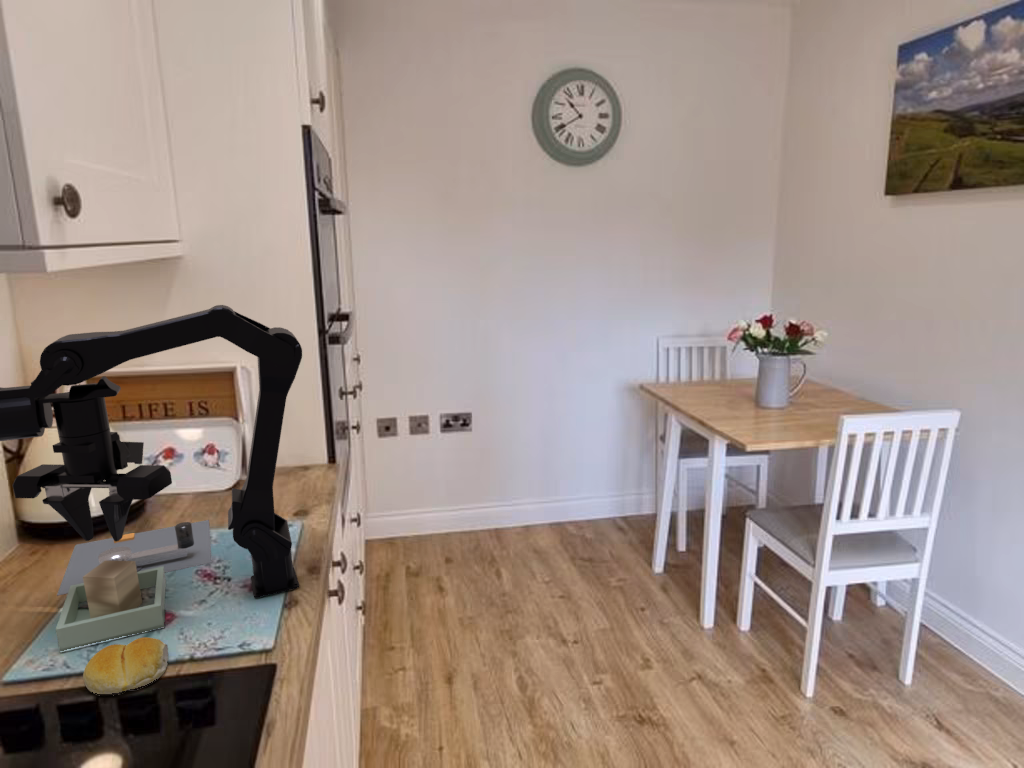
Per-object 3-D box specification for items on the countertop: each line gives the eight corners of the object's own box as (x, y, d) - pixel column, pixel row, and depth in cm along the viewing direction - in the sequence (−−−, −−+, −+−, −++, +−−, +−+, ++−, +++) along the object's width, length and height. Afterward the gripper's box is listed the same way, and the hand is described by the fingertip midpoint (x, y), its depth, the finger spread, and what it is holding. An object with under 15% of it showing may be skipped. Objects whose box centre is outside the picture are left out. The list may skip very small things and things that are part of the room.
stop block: (142, 605, 95) (135, 561, 93) (122, 623, 90) (114, 577, 89) (113, 604, 95) (105, 560, 93) (91, 622, 91) (82, 576, 89)
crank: (99, 577, 100) (93, 547, 99) (102, 564, 104) (97, 536, 103) (195, 557, 106) (191, 529, 105) (195, 546, 110) (191, 518, 109)
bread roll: (92, 665, 83) (87, 637, 82) (171, 648, 86) (167, 621, 85) (77, 708, 75) (71, 678, 74) (164, 687, 78) (159, 658, 77)
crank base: (212, 568, 106) (211, 560, 105) (57, 601, 97) (56, 593, 97) (209, 524, 122) (208, 517, 121) (76, 550, 113) (74, 542, 113)
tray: (164, 628, 90) (160, 605, 89) (60, 653, 85) (55, 629, 84) (166, 586, 100) (163, 566, 100) (74, 607, 95) (70, 585, 95)
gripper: (186, 414, 93) (200, 515, 97) (62, 414, 95) (81, 513, 98) (137, 438, 83) (155, 551, 86) (-2, 438, 84) (22, 549, 88)
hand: (104, 539), depth 90 cm, fingers open, 4 cm apart
